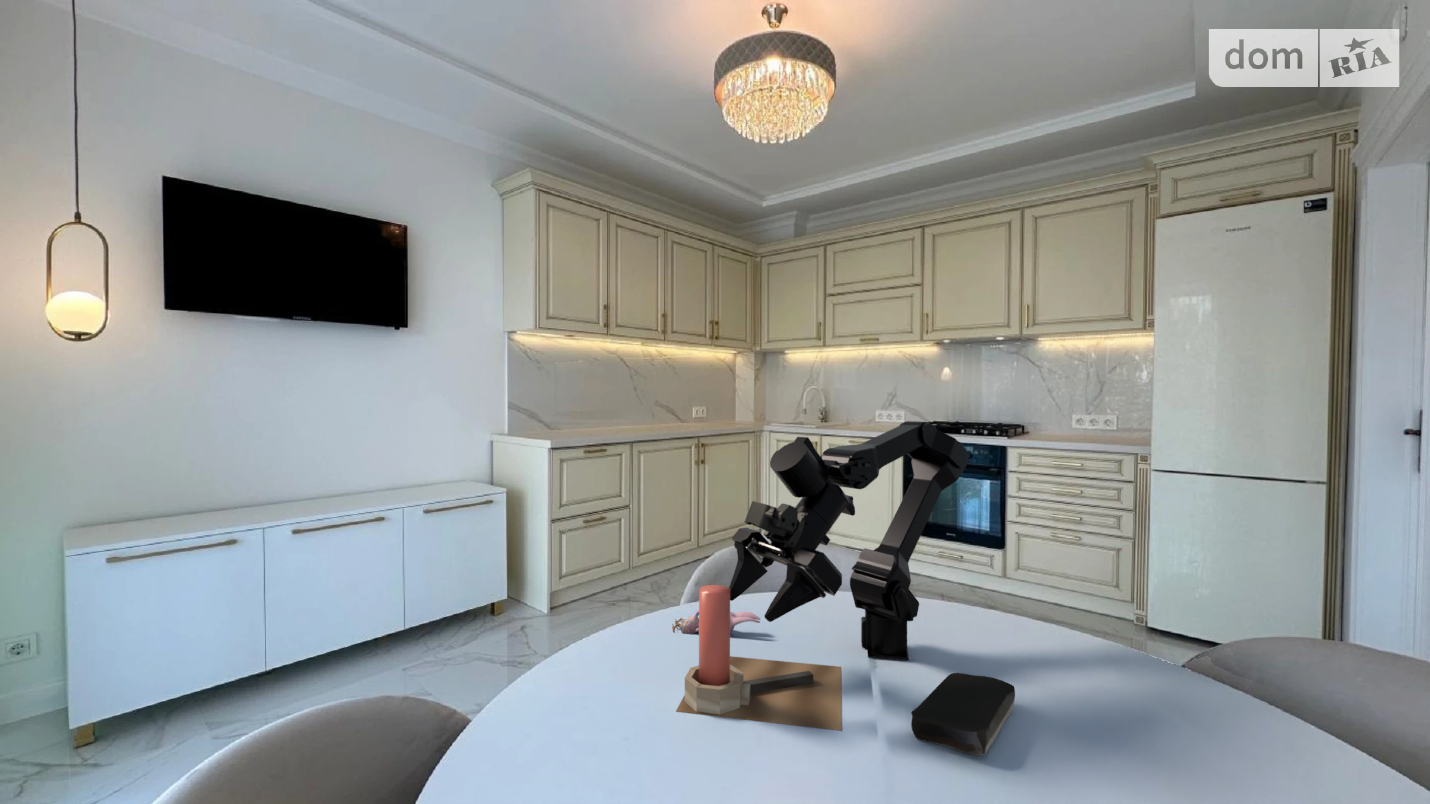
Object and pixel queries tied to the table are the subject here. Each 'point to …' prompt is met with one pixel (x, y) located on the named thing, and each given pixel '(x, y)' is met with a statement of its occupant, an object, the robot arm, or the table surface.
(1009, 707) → the black sponge
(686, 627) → the rabbit figure
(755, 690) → the walnut board
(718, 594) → the red plug
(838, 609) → the table surface
